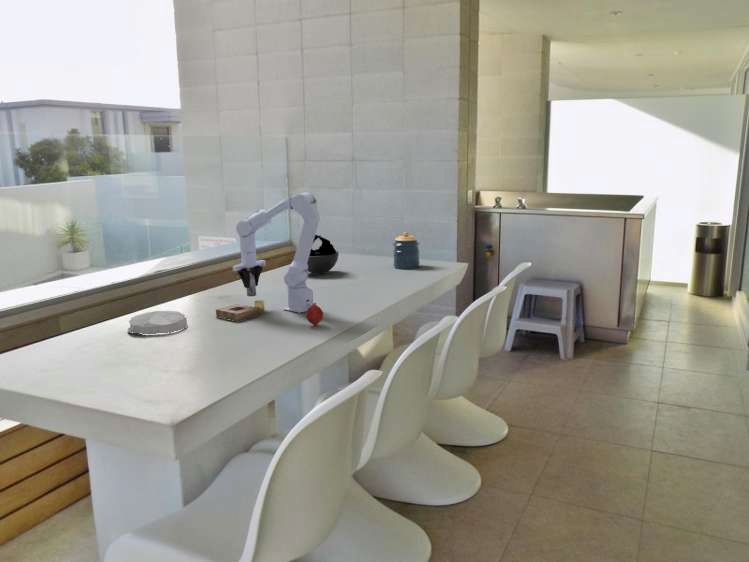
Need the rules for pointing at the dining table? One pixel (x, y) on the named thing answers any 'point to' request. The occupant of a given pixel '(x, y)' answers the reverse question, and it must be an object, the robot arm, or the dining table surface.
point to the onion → (314, 314)
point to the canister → (406, 252)
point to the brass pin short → (260, 306)
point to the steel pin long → (251, 286)
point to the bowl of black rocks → (322, 257)
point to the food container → (157, 322)
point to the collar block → (237, 312)
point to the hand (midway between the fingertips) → (251, 286)
